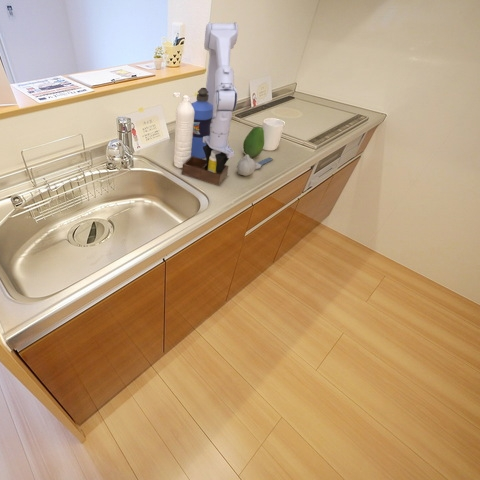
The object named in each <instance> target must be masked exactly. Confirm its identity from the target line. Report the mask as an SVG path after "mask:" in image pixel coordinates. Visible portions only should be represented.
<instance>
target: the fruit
mask: <svg viewBox="0 0 480 480" xmlns="http://www.w3.org/2000/svg"><path fill="white" fill-rule="evenodd" d="M263 147H264V130H263V128H262V126H255V127H253V128H252V129H251V130H250V131H249V133H248V134H247V135H246V136H245V138H244V140H243V143H242V149H243V153H244V154H245V155H249V157H250V158H251V159H253V158H255V157H258V156H259V155H260V154H261V153H262V151H263Z"/></svg>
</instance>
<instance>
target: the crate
mask: <svg viewBox="0 0 480 480" xmlns="http://www.w3.org/2000/svg"><path fill="white" fill-rule="evenodd" d="M181 170H182V171H181V175H184V176H186V177H189V178H194V179H197V180H199V181H203V182H207V183H209V184H213V185H215V186H220V184H222V182H223V181H224V180H225V179H226V177H228V171H229V165H227V164H225V166H224V168H223V170H222V172H220V174H217V173H214V172H210V171H207V170H208V166H207V160H206V158H202V159H201V158H198V157H194V156H192V157H190V158H189V159H188V160H187V161H186V162H185V163H184V164H183V168H181Z"/></svg>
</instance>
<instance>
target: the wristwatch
mask: <svg viewBox="0 0 480 480" xmlns="http://www.w3.org/2000/svg"><path fill="white" fill-rule="evenodd" d="M273 160H274V159H273V158H272V157H267V158H264V159H263V160H260V161H258V162H257V161H256V162H255V161H254V162H255V164H256V165H257V166H256V167H255V170H261V167H262V166H263V165H265V164H267V163H270V162H271V161H273ZM236 173H237V174H238V175H241V174H240V173H239V172H238V171H237V172H236ZM241 176H242V175H241Z"/></svg>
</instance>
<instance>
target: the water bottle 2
mask: <svg viewBox="0 0 480 480" xmlns="http://www.w3.org/2000/svg"><path fill="white" fill-rule="evenodd" d="M208 96H209V95H208V91H207V89H206V87H201V88H199V89H198V90H197V94H196V100H195V101H193V102H190V103H191V104H192V106H193V108H194V112H195V114H194V123H193V137H192V149H191V157H192V156H194V157H198V158H201V159H206V155H205V152H204V150H203V146H206V145H207V143H203V137H204V136H209V137H210V125H211V121H212V117H213V105H212V104H211V103H209V102H208Z"/></svg>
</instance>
